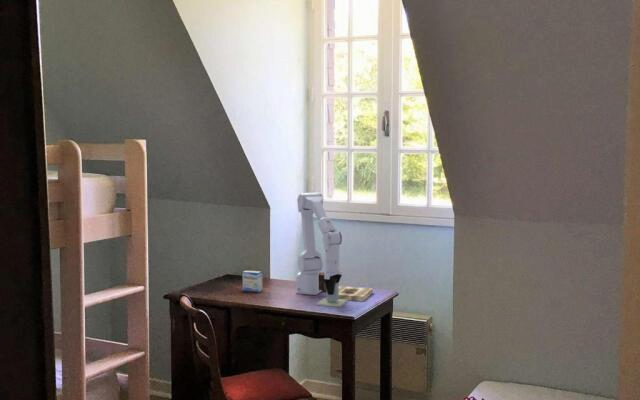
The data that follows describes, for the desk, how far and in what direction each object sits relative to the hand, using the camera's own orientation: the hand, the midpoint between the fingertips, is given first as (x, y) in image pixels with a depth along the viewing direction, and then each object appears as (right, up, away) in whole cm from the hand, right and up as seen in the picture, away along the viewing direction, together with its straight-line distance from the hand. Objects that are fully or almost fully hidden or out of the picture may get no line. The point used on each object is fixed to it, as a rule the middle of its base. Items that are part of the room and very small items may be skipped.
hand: (332, 293), depth 292 cm
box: (-5, -2, +26) cm, 26 cm away
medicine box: (-35, -2, +24) cm, 43 cm away
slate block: (0, -3, 0) cm, 3 cm away
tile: (0, -4, 0) cm, 4 cm away
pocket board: (+8, -3, +14) cm, 16 cm away
